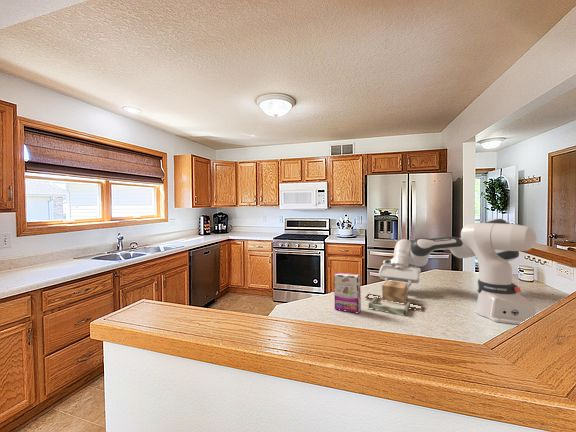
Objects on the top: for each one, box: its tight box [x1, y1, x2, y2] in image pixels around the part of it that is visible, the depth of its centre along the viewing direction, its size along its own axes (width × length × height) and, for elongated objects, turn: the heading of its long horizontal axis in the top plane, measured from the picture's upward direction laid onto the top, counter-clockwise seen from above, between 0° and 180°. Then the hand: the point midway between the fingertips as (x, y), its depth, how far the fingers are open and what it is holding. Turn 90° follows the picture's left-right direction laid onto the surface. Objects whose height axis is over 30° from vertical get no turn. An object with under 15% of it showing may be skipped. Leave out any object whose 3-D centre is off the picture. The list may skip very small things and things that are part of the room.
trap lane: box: [364, 293, 424, 316], centre depth 128 cm, size 26×18×2 cm
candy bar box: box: [333, 272, 362, 314], centre depth 124 cm, size 11×5×16 cm, turn 62°
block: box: [381, 280, 408, 303], centre depth 136 cm, size 10×10×8 cm
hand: (396, 287), depth 142 cm, fingers open, 8 cm apart
